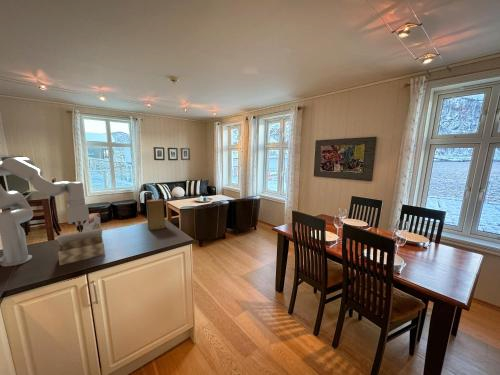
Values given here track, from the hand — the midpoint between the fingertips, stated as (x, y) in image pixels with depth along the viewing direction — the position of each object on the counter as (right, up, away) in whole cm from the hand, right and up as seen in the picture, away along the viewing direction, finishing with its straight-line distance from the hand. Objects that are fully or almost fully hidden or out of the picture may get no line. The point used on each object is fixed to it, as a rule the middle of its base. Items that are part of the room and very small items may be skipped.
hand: (80, 231), depth 132 cm
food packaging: (+22, -9, +58) cm, 62 cm away
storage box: (-2, -17, +5) cm, 17 cm away
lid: (-3, -4, +4) cm, 7 cm away
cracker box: (-9, -14, +23) cm, 29 cm away
